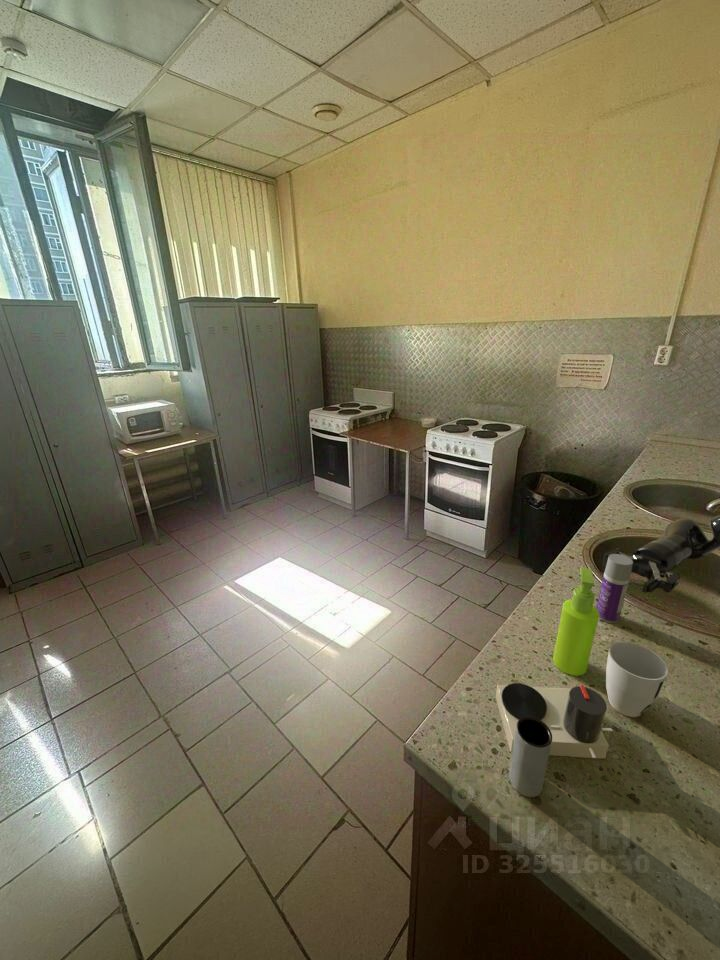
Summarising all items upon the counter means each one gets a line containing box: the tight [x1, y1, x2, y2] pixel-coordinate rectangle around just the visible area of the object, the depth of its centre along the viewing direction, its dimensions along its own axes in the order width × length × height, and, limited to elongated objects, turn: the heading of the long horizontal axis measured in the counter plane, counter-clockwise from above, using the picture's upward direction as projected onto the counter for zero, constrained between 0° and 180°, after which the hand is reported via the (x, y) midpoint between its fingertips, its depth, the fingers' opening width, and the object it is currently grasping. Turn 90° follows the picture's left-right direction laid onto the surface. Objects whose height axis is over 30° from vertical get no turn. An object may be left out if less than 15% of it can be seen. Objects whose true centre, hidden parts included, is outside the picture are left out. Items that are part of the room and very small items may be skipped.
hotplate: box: [502, 682, 547, 720], centre depth 66 cm, size 7×7×1 cm
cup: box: [605, 641, 669, 718], centre depth 67 cm, size 8×8×10 cm
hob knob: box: [563, 684, 608, 744], centre depth 60 cm, size 5×5×6 cm
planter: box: [508, 716, 552, 798], centre depth 56 cm, size 4×4×10 cm
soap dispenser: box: [552, 566, 599, 677], centre depth 74 cm, size 6×7×20 cm
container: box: [595, 554, 633, 624], centre depth 87 cm, size 5×5×15 cm
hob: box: [495, 684, 613, 760], centre depth 64 cm, size 16×12×3 cm
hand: (623, 579), depth 88 cm, fingers open, 8 cm apart
